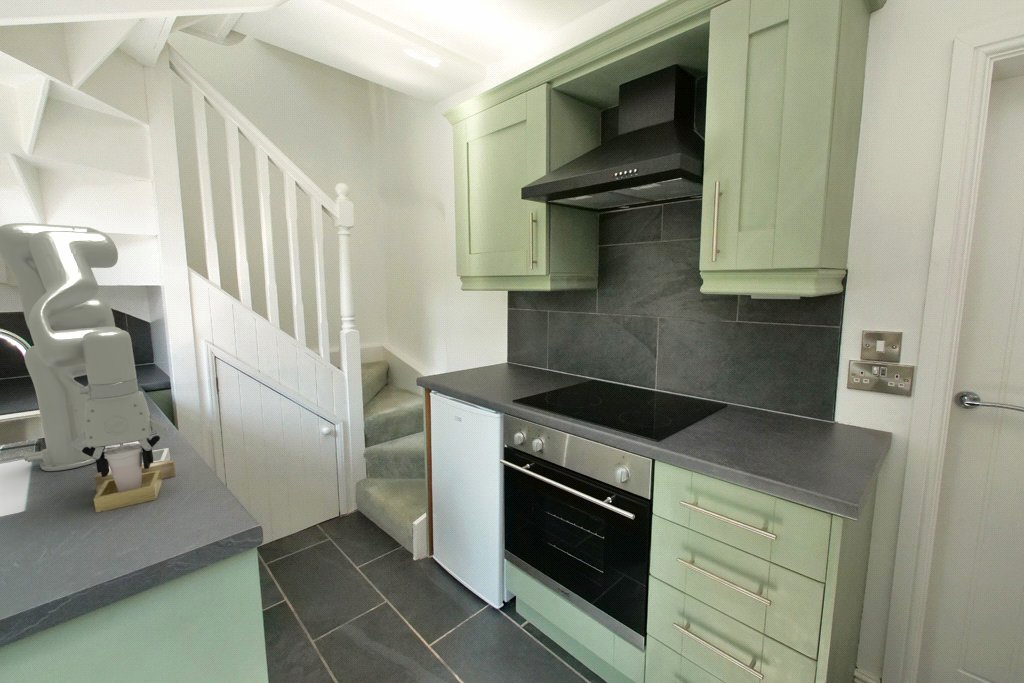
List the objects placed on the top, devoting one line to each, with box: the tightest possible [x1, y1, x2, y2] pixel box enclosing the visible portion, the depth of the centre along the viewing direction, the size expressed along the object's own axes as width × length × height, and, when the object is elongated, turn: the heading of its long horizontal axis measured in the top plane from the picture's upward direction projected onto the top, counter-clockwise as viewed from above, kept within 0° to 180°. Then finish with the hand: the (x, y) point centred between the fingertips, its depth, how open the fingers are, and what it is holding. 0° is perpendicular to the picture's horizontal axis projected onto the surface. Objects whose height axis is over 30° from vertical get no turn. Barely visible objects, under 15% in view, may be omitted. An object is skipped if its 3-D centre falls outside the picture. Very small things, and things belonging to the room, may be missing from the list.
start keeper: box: [142, 447, 171, 465], centre depth 109 cm, size 10×10×3 cm
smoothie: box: [104, 442, 143, 492], centre depth 95 cm, size 6×6×14 cm
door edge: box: [93, 459, 177, 493], centre depth 103 cm, size 14×2×4 cm, turn 122°
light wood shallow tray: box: [93, 470, 163, 514], centre depth 96 cm, size 10×10×3 cm
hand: (127, 469), depth 95 cm, fingers closed on smoothie, 6 cm apart
